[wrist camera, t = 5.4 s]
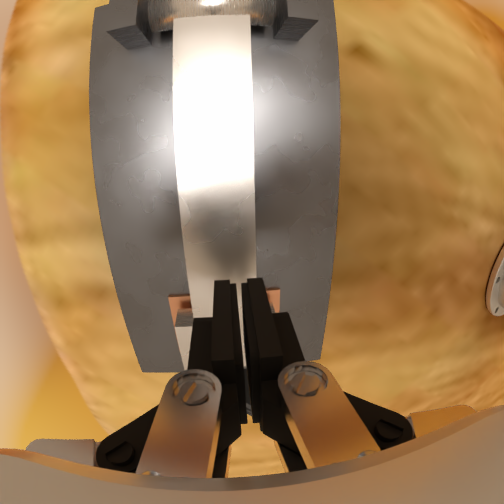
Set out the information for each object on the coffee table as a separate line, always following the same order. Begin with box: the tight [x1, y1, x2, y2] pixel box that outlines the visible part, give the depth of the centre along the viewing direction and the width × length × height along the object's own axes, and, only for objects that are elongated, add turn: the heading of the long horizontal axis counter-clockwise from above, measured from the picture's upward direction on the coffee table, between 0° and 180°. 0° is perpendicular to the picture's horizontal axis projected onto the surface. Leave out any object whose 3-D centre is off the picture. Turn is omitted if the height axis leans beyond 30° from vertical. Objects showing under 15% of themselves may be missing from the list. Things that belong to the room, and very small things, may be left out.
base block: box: [89, 0, 340, 372], centre depth 14 cm, size 22×12×8 cm, turn 1°
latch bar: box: [148, 0, 276, 370], centre depth 12 cm, size 18×5×2 cm, turn 1°
